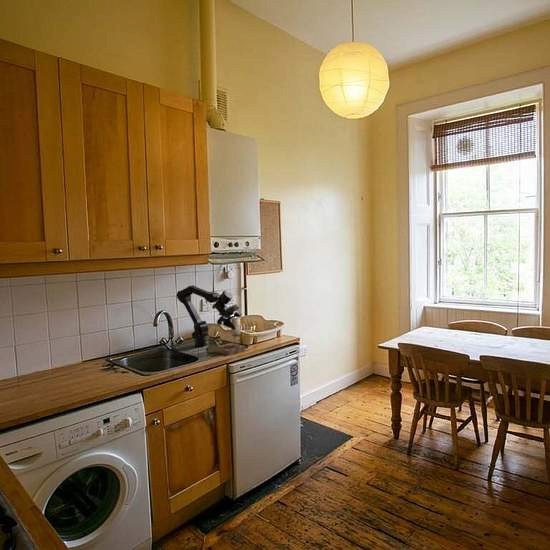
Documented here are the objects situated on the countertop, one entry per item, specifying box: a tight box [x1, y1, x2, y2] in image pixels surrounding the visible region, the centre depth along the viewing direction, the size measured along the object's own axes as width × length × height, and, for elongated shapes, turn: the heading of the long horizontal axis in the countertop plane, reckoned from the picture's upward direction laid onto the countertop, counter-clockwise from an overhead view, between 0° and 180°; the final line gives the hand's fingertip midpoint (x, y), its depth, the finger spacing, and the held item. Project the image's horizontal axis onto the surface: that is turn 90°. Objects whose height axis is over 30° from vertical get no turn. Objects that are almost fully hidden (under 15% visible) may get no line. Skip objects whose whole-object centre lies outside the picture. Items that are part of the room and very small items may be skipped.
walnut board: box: [214, 342, 246, 356], centre depth 239 cm, size 13×13×3 cm
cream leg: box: [231, 316, 242, 341], centre depth 240 cm, size 5×5×13 cm
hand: (237, 328), depth 240 cm, fingers closed on cream leg, 5 cm apart
